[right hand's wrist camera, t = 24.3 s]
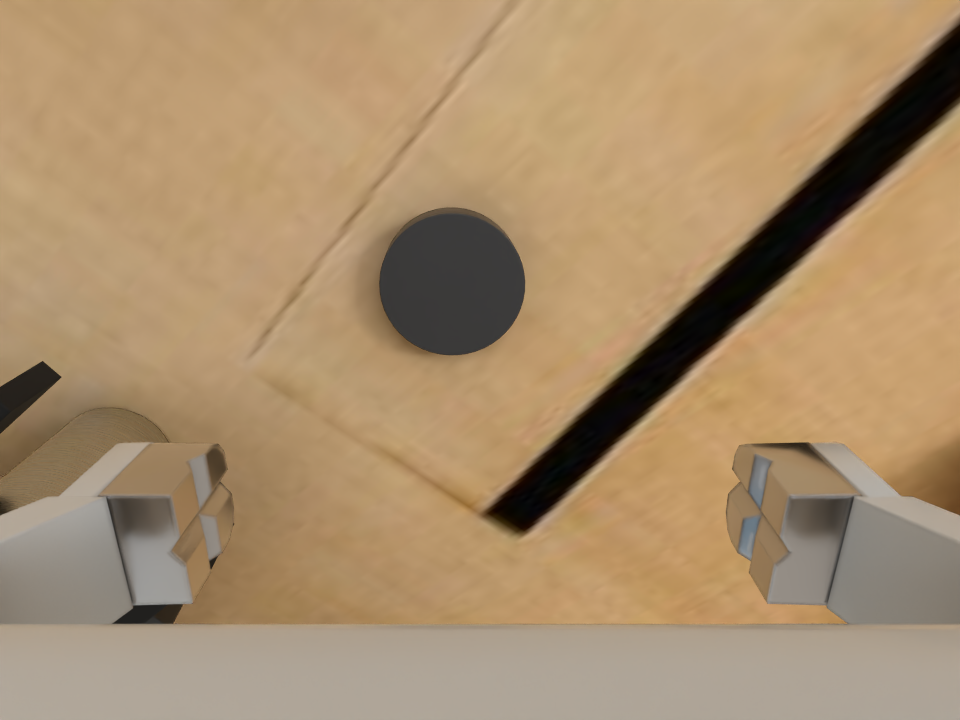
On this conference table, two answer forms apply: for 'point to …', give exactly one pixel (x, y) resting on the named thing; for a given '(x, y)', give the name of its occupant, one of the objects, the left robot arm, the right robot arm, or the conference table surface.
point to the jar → (72, 454)
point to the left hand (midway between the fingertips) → (125, 467)
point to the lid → (452, 281)
